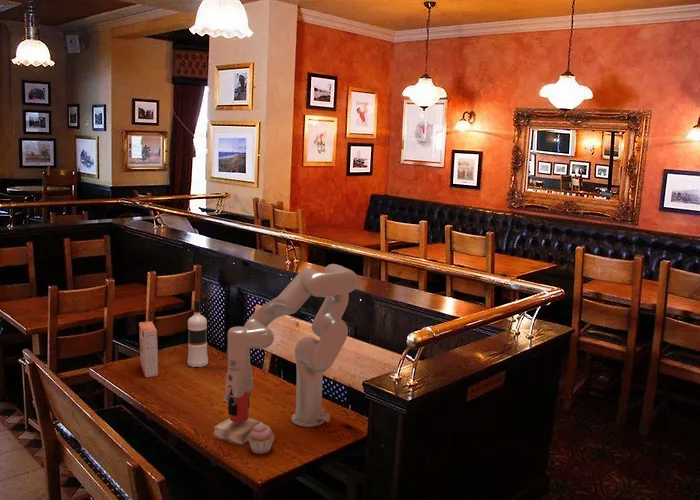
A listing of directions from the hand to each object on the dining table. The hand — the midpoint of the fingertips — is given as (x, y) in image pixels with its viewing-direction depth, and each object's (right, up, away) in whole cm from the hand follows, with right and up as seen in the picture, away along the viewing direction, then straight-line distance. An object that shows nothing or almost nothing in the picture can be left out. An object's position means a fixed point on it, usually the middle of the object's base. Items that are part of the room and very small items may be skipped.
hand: (239, 410), depth 230 cm
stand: (0, -9, +2) cm, 9 cm away
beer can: (0, -3, +1) cm, 3 cm away
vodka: (-30, +4, +67) cm, 74 cm away
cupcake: (+9, -11, -9) cm, 17 cm away
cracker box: (-49, +3, +57) cm, 75 cm away
